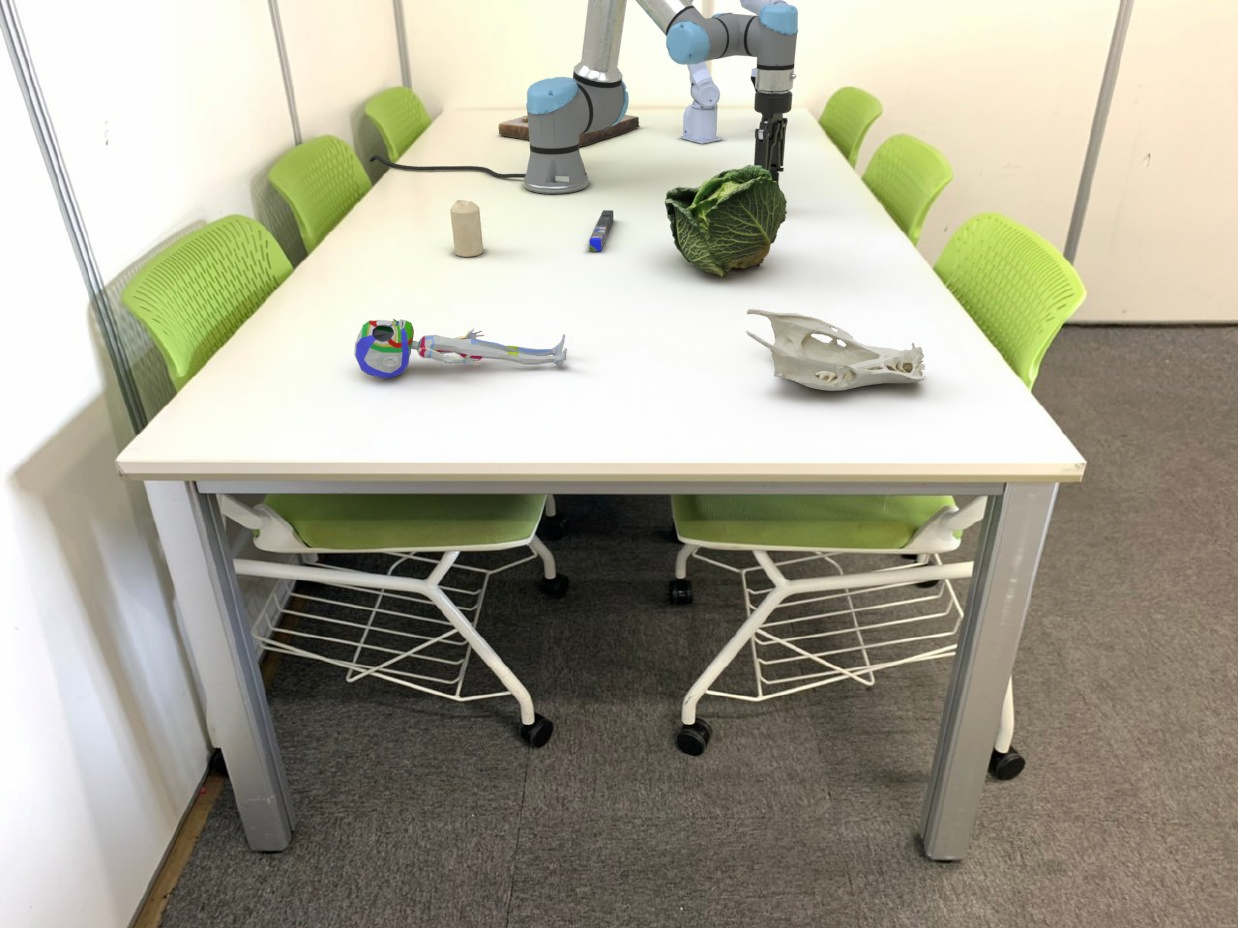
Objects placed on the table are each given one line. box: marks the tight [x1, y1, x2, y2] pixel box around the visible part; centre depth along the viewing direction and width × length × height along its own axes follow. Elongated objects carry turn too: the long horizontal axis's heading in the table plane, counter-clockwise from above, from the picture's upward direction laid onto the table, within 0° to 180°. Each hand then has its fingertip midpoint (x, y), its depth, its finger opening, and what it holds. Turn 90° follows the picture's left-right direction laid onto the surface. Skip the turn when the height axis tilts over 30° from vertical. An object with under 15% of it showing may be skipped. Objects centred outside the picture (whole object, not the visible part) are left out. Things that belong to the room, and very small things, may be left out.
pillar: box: [588, 209, 615, 252], centre depth 182 cm, size 2×2×20 cm
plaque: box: [498, 114, 641, 148], centre depth 262 cm, size 30×7×30 cm
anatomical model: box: [745, 308, 927, 392], centre depth 125 cm, size 15×9×25 cm
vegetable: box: [664, 164, 788, 278], centre depth 161 cm, size 20×19×20 cm
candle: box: [449, 199, 484, 258], centre depth 172 cm, size 6×6×10 cm
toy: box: [353, 318, 568, 379], centre depth 130 cm, size 10×8×30 cm
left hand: (766, 206), depth 193 cm, fingers closed on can, 5 cm apart
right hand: (770, 101), depth 251 cm, fingers open, 7 cm apart
